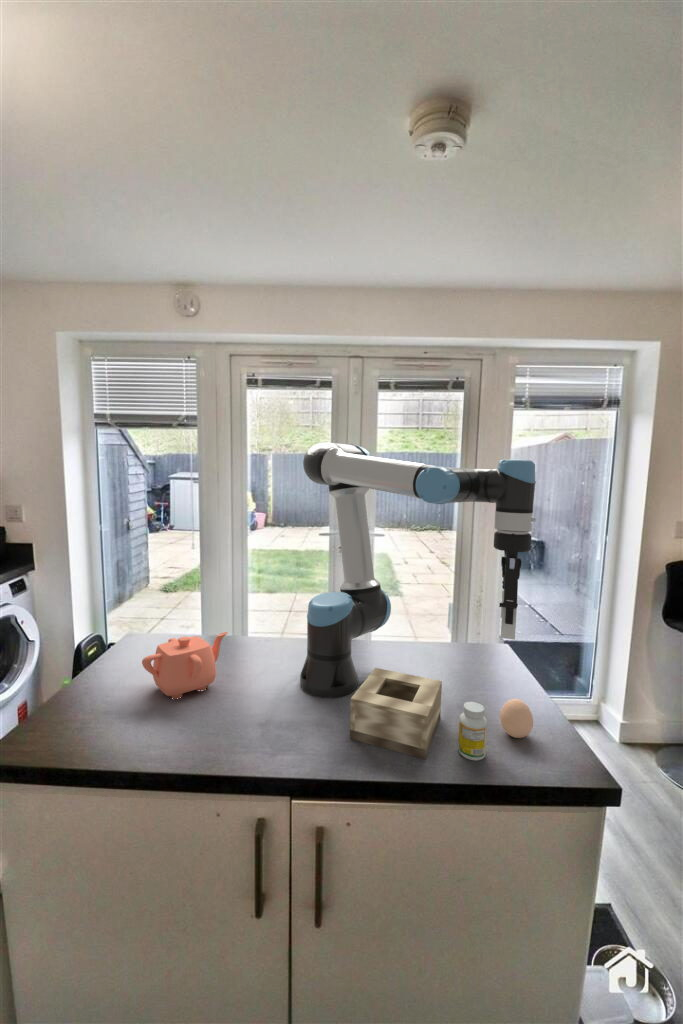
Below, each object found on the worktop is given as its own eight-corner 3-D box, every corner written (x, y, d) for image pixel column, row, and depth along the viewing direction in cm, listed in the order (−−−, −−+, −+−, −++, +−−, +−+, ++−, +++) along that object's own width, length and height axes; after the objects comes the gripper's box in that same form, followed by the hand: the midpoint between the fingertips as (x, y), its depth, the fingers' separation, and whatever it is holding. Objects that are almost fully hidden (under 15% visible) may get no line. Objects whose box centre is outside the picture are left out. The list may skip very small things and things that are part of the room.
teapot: (139, 702, 103) (138, 649, 102) (167, 672, 118) (167, 626, 117) (209, 705, 102) (209, 651, 101) (228, 674, 118) (228, 628, 117)
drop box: (349, 738, 90) (350, 698, 90) (374, 702, 105) (375, 667, 104) (425, 759, 84) (427, 716, 83) (440, 718, 99) (441, 681, 98)
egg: (515, 748, 88) (517, 711, 88) (492, 730, 94) (494, 695, 94) (539, 740, 91) (541, 705, 90) (515, 724, 97) (517, 690, 96)
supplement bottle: (479, 765, 83) (481, 717, 82) (453, 753, 86) (455, 707, 85) (489, 751, 87) (492, 706, 86) (464, 741, 90) (466, 697, 90)
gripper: (536, 540, 80) (529, 651, 82) (528, 526, 103) (522, 613, 105) (493, 537, 83) (487, 645, 84) (495, 524, 106) (490, 609, 108)
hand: (507, 627), depth 95 cm, fingers open, 13 cm apart
